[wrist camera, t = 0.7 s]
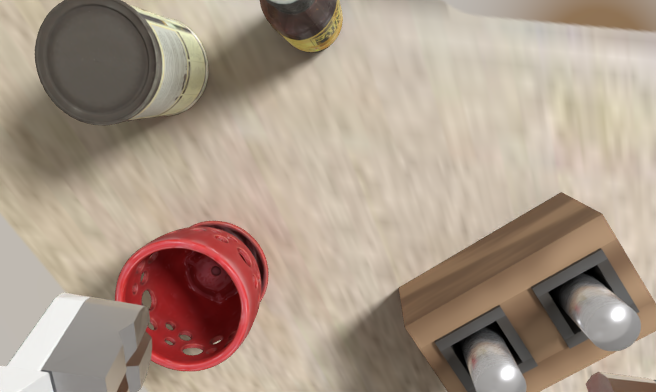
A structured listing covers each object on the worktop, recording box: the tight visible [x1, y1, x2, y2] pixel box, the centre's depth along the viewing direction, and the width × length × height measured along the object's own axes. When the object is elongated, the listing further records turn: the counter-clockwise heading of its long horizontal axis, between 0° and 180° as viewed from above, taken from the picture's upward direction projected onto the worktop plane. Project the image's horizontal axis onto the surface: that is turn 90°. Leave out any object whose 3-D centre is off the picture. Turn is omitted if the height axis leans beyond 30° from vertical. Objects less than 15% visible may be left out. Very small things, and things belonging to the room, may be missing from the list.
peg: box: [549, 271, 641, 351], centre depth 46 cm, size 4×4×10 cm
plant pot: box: [115, 221, 268, 371], centre depth 54 cm, size 13×13×12 cm
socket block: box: [399, 192, 656, 392], centre depth 53 cm, size 12×20×10 cm, turn 123°
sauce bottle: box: [260, 0, 343, 52], centre depth 44 cm, size 6×6×20 cm
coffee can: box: [35, 0, 209, 125], centre depth 49 cm, size 10×10×14 cm
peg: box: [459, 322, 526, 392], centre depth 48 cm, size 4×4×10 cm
